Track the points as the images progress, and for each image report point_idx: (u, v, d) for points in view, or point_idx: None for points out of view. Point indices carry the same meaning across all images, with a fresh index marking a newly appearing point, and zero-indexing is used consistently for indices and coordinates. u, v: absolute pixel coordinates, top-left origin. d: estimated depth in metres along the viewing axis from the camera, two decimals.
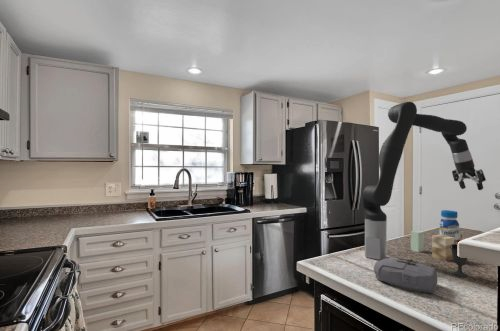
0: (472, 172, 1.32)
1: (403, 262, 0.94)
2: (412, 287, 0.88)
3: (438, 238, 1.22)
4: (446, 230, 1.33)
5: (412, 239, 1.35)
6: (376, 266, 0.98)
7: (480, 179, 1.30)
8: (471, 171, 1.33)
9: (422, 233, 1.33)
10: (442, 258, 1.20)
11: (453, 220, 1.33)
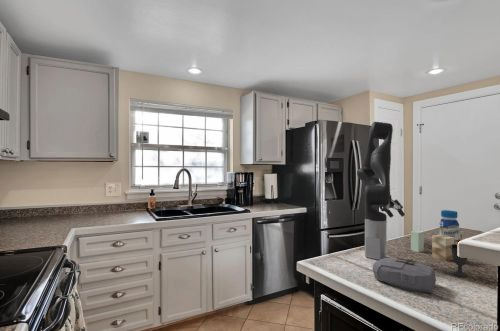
0: (393, 201, 1.52)
1: (402, 262, 0.94)
2: (410, 286, 0.88)
3: (438, 238, 1.22)
4: (446, 230, 1.33)
5: (412, 239, 1.35)
6: (375, 266, 0.98)
7: (401, 205, 1.51)
8: (392, 200, 1.53)
9: (422, 233, 1.33)
10: (442, 258, 1.20)
11: (453, 220, 1.33)
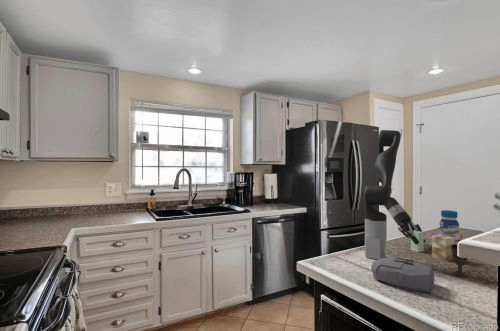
0: (414, 225, 1.40)
1: (400, 261, 0.94)
2: (409, 286, 0.88)
3: (438, 238, 1.22)
4: (446, 230, 1.33)
5: None
6: (374, 265, 0.98)
7: (421, 231, 1.38)
8: (412, 223, 1.41)
9: (422, 233, 1.33)
10: (442, 258, 1.20)
11: (453, 220, 1.33)
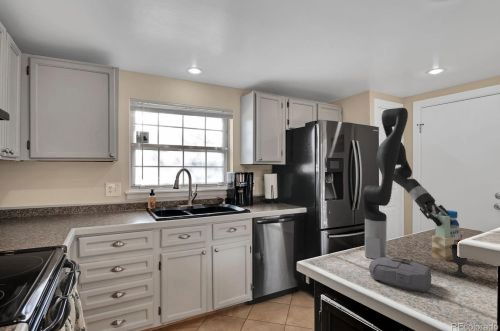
0: (437, 206, 1.29)
1: (397, 261, 0.95)
2: (405, 285, 0.89)
3: (438, 238, 1.22)
4: None
5: None
6: (371, 265, 0.99)
7: (447, 212, 1.27)
8: (436, 205, 1.29)
9: (448, 217, 1.22)
10: (442, 258, 1.20)
11: (453, 220, 1.33)
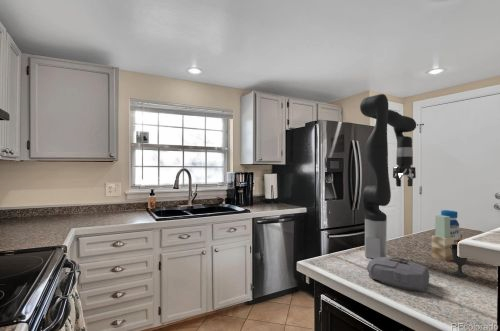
0: (410, 168, 1.43)
1: (395, 261, 0.95)
2: (403, 285, 0.89)
3: (438, 238, 1.22)
4: None
5: (437, 224, 1.23)
6: (369, 265, 0.99)
7: (414, 175, 1.43)
8: (410, 167, 1.42)
9: (448, 217, 1.22)
10: (442, 258, 1.20)
11: (453, 220, 1.33)
